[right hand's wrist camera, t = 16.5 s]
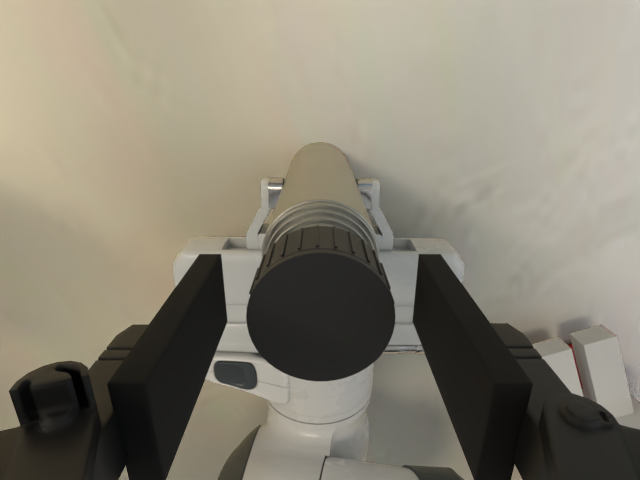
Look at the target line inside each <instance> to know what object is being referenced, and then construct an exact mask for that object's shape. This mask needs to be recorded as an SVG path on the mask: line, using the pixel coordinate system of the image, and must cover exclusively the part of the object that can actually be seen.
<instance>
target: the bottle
mask: <svg viewBox="0 0 640 480" xmlns="http://www.w3.org/2000/svg"><path fill="white" fill-rule="evenodd" d="M316 225H319V226H329V227H333V226H335V227H336V228H339V229H343V230H345V231H348V232H349V231H350V232H351V233H352V234H354V235H356V236H358V237H359V238H360V239H364V240H365V243H366V244H367V245H369V246H370V248H371V249H372V250H375V252H376V255H377V258H378V259H379V244H378V240H377V236H376V234H375V231H374V228H373V226H372V223H371V220H370V218H369V215H368V212H367V210H366V207H365V204H364V202H363V199H362V196H361V194H360V191H359V188H358V186H357V183H356V180H355V178H354V175H353V172H352V170H351V167H350V164H349V162H348V159H347V158H346V156H345V155H344V153H343V152H342V151H341V150H340V149H338V148H337V147H335V146H333V145H331V144H327V143H313V144H310V145H307V146H305V147H304V148H302V149H301V150H300V151H299V152H298V153H297V154H296V155H295V157H294V158H293V160H292V163H291V166H290V168H289V171H288V174H287V177H286V179H285V182H284V185H283V188H282V190H281V193H280V196H279V199H278V201H277V204H276V207H275V210H274V212H273V215H272V218H271V220H270V223H269V226H268V229H267V231H266V234H265V237H264V240H263V245H262V257H263V255H264V254H265V255H266V253H267V252H268V251H269V249H270V248H271V247H272V244H273V243H276V242H277V241H278V240H280V239H281V238H282V237H284V236H285V234H289V233H291V232H294V231H296V230H299V229H300V228H306V227H313V226H316Z"/></svg>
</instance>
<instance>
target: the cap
mask: <svg viewBox="0 0 640 480" xmlns="http://www.w3.org/2000/svg"><path fill="white" fill-rule="evenodd" d="M390 289H391V287H390V284H389V281H388V279H387V276H386V273H385V270H384V267H383V264H382V263H380V262H379V259H378V258H377V255H376V252H375V250H372V249H371V248H370V246H369V245H367V244H366V243H365V240H364V239H360V238H359V237H358V236H356V235H354V234H352V233H351V232H350V231H349V232H348V231H345V230H343V229H339V228H336V227H335V226H333V227H329V226H319V225H316V226H313V227H306V228H300V229H299V230H296V231H294V232H291V233H289V234H285V236H284V237H282V238H281V239H280V240H278V241H277V242H276V243H273V244H272V247H271V248H270V249H269V251H268V252H267V253H266V255H265V254H264V255H263V257H262V260H261V263H260V266H259V268H257V271H256V274H255V277H254V280H253V283H252V286H251V289H250V292H249V294H250V298H249V301H248V305H247V313H246V321H247V328H248V332H249V335H250V338H251V341H252V343H253V344H254V346H255V348H256V350H257V351H258V352H259V354H260V355H261V356H262V357H263V358H264V359H265V360H266V361H267V362H268V363H269V364H271V365H272V366H273V367H274V368H276V369H278V370H279V371H281V372H283V373H285V374H287V375H289V376H292V377H295V378H298V379H303V380H307V381H334V380H339V379H343V378H346V377H349V376H352V375H354V374H356V373H359V372H361V371H362V370H364V369H365V368H367V367H369V366H370V365H371V364H372V363H373V362H375V361H376V360H377V359H378V358H379V357H380V356H381V354H382V353H383V352H384V350H385V349H386V347H387V345H388V344H389V342H390V340H391V337H392V334H393V331H394V326H395V307H394V304H395V302H394V299H393V296H392V293H391V290H390Z"/></svg>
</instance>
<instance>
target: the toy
mask: <svg viewBox="0 0 640 480" xmlns="http://www.w3.org/2000/svg"><path fill="white" fill-rule="evenodd" d="M569 334H570V338H571V342H572V344H570V345H567V344H566V343H565V342H564V341H562V340H561V339H560V338H559V337H555V338H551V339H548V340H544V341H541V342H537V343H534V344H532V345H533V348H534V349H536V350H537V351H538V352H539V354H540V355H541V356H542V359H544V360H545V361H546V362H547V363H548V365H549V366H550V367H551V368H552V370H553V371H554V372H555V373H556V374H557V376H558V377H559V378H560V379H561V381H562V382H563V383H564V384H565V385H566V387H567V388H568V389H569V390H570V392H571V393H572V394H576V395H579V396H583V397H586V398H588V399H590V400H592V401H594V402H596V403H598V404H600V405H602V406H603V407H604V408H605V409H606V410H608V411H609V412H610V413H611V414H612V415H613V416H614V417H615V419H616V420H617V422H618V423H619V424H620V425H623V426H627V427H631V428H635V429H640V402H639V401H638V400H637V399H635V398H634V397H633V396H632V395H631V394H630V391H629V387H628V382H627V378H626V373H625V368H624V364H623V359H622V355H621V350H620V345H619V341H618V336H617V335H615V334H614V333H613V332H611V331H610V330H608V329H607V328H605V327H604V326H603V325H597V326H594V327H590V328H587V329H583V330H580V331H576V332H573V333H569Z"/></svg>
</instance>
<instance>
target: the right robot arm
mask: <svg viewBox="0 0 640 480" xmlns="http://www.w3.org/2000/svg"><path fill="white" fill-rule="evenodd" d="M227 322H228V321H227V311H226V300H225V289H224V279H223V268H222V258H221V254H199V255H198V257H197V258H196V260H195V261H194V262H193V264H192V265H191V267H190V268H189V269H188V271H187V272H186V274H185V275H184V276H183V278H182V279H181V281H180V282H179V283H178V285H177V286H176V288H175V289H174V290H173V292H172V293H171V295H170V296H169V297H168V299H167V300H166V302H165V303H164V304H163V306H162V307H161V309H160V310H159V311H158V313H157V314H156V316H155V317H154V318H153V320H152V321H151V323H150V324H149V325H132V326H130V327H129V328H127V329H126V330H124V331H123V332H121V333H120V334H118V335H117V336H116V337H115V338H114V339H113V341H112V342H111V343H110V344H109V346H108V347H107V350H104V352H103V353H102V354H101V355H100V357H99V359H98V361H96V362H95V363H94V364H93V365H92V367H91V368H90V369H89V370H88V368H87V367H86V366H85V365H83V364H82V363H79V362H74V361H65V362H56V363H53V364H49V365H46V366H42V367H40V368H38V369H36V370H34V371H32V372H30V373H28V374H26V375H25V376H24V377H22V378H21V379H20V380H18V381H17V382H16V383H15V384H14V385H13V387H12V388H11V389H10V390H9V393H10V396H11V399H12V402H13V405H14V407H15V410H16V413H17V416H18V419H19V422H20V426H19V427H16V428H12V429H8V430H4V431H0V480H118V479H119V477H120V475H121V473H122V471H123V469H124V467H125V465H126V468H127V472H128V476H129V480H166V478H167V475H168V473H169V470H170V467H171V465H172V462H173V460H174V457H175V455H176V452H177V450H178V447H179V444H180V442H181V439H182V437H183V434H184V432H185V429H186V427H187V424H188V421H189V419H190V416H191V414H192V411H193V409H194V406H195V404H196V401H197V398H198V396H199V393H200V391H201V388H202V386H203V383H204V380H205V378H206V375H207V373H208V370H209V368H210V365H211V363H212V360H213V357H214V355H215V352H216V350H217V347H218V345H219V342H220V340H221V337H222V334H223V332H224V329H225V327H226V324H227ZM412 322H413V324H414V327H415V329H416V332H417V334H418V337H419V340H420V342H421V345H422V347H423V350H424V352H425V355H426V357H427V360H428V363H429V365H430V368H431V370H432V373H433V375H434V378H435V380H436V383H437V386H438V388H439V391H440V393H441V396H442V398H443V401H444V404H445V406H446V409H447V411H448V414H449V416H450V419H451V421H452V424H453V427H454V429H455V432H456V434H457V437H458V439H459V442H460V444H461V447H462V450H463V452H464V455H465V457H466V460H467V462H468V465H469V467H470V470H471V473H472V475H473V478H474V480H511V476H512V472H513V468H514V464H515V465H516V467H517V469H518V471H519V473H520V475H521V477H522V479H523V480H640V429H635V428H631V427H627V426H623V425H620V424H619V423H618V422H617V420H616V419H615V417H614V416H613V415H612V414H611V413H610V412H609V411H608V410H606V409H605V408H604V407H603V406H602V405H600V404H598V403H596V402H594V401H592V400H590V399H588V398H586V397H583V396H579V395H576V394H572V393H571V392H570V390H569V389H568V388H567V387H566V385H565V384H564V383H563V382H562V381H561V379H560V378H559V377H558V376H557V374H556V373H555V372H554V371H553V370H552V368H551V367H550V366H549V365H548V363H547V362H546V361H545V360H544V359H542V356H541V355H540V354H539V352H538V351H537V350H536V349H534V348H533V345H532V344H531V343H530V341H529V340H528V339H527V338H526V337H525V335H524V334H523V333H521V332H520V331H518V330H517V329H515V328H514V327H512V326H511V325H509V324H490V323H489V321H488V320H487V318H486V317H485V316H484V314H483V313H482V311H481V310H480V309H479V307H478V306H477V304H476V303H475V302H474V300H473V299H472V297H471V296H470V295H469V293H468V292H467V290H466V289H465V288H464V286H463V285H462V283H461V282H460V281H459V279H458V278H457V276H456V275H455V274H454V272H453V271H452V269H451V268H450V267H449V265H448V264H447V262H446V261H445V260H444V258H443V257H442V255H441V254H419V258H418V268H417V279H416V289H415V300H414V311H413V321H412Z"/></svg>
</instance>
